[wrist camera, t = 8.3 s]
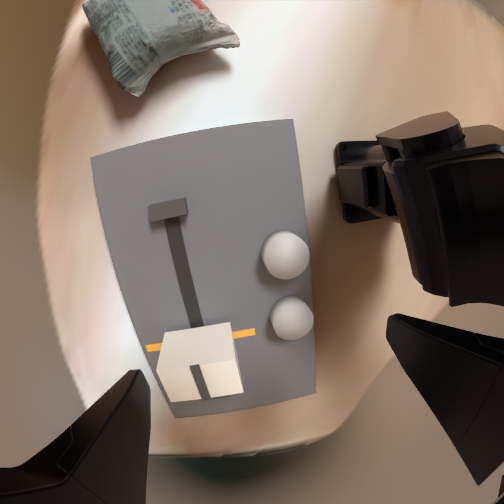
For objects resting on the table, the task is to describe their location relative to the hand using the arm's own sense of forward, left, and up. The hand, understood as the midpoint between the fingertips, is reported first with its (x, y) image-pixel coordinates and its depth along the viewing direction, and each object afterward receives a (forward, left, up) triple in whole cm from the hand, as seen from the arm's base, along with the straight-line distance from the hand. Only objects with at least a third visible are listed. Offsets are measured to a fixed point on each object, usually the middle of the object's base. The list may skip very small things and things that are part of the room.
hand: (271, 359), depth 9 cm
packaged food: (+3, -20, -13) cm, 24 cm away
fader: (+4, +6, -10) cm, 13 cm away
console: (+2, +3, -13) cm, 13 cm away
